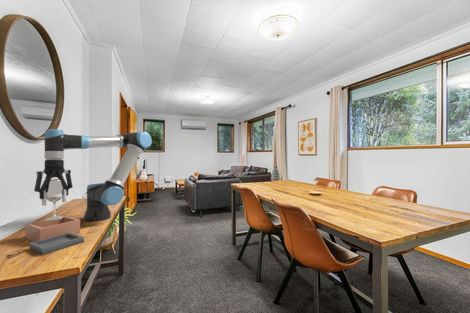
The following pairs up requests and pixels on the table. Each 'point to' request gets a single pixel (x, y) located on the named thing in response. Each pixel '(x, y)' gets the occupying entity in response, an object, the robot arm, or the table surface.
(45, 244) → the tray
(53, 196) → the wineglass
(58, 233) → the holder
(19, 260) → the table surface
